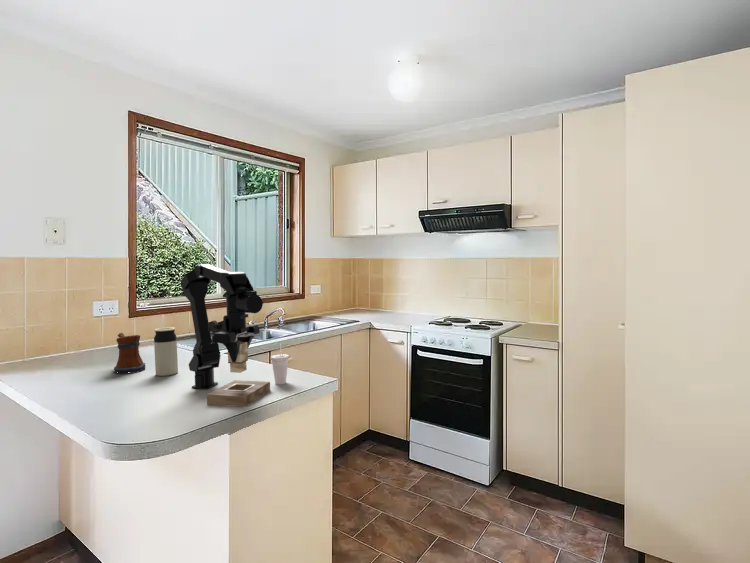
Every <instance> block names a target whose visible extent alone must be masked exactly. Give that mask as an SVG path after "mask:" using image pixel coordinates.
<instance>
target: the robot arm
mask: <svg viewBox="0 0 750 563" xmlns="http://www.w3.org/2000/svg"><path fill="white" fill-rule="evenodd" d="M212 281H214V282H216V283H218V284H219V287H220V288H222V289H223V290H224V291H225V292H224V293H223V295H222V298H225V301H226V315H223V317H222V318H223V320H221V321H217V320H211V321H209V317H208V312H207V305H206V300H205V299H206V296H207V294H208V291H209V287H208V286H209V285H210V284H211V282H212ZM180 288H181V289H182V293H183V296H184V297H185V298H186V299H187V300H188V301H189V304H190V310H191V311H190V312H191V317H192V322H193V328H194V335H195V341H196V342H195V344H194V347H193V350H192V355H193V356H192V357H191V359H190V361H189V363H188V368H189V371H191V372H194V385H193V386H191V389H200V390H201V389H202V390H203V389H204V390H205V389H206V390H208V389H210V388H212V387H215V386H216V385H218V384H219V382H218V381H215V371H214V369H215V368H216V369H217V368H219V367H220V366H219V365H220V362H221V351H220V347H219V344H222V345H223V346H225V348H226V351H227V354H228V353H229V355H230V358H231V360H232V362H236V359H237V355H238V351H239V346H240V342H247V347H248V348H249V347H250V344H251V343H252V341H253V339H254V338H255V335H258V334H260V327H259V325H257V324H247V318H249V314H258V313H259V312H260V311H261V310H262V308H263V306H264V304H263V299H262V297H261V296H260V295H258V293H257V291H256V290H254V287H253V285H252V284H251V281H250V280H249V277H248V276H247V274H246V273H245V272H244V271H228V270H225V269H222V268H219V267H218V266H217V267H216V266H213V265H212V264H210V263H206V264H205V263H203V264H200V263H199V264H197V265H195V267H194V268H193V269H192V270H190V271H188V272H187V273H185V274H184V276H183V277H182V279H181V280H180ZM211 333H212V335H211ZM251 334H253V335H251Z"/></svg>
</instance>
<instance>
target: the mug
mask: <svg viewBox="0 0 750 563" xmlns="http://www.w3.org/2000/svg"><path fill="white" fill-rule="evenodd" d="M140 339H141V335H139V334H134V335H126V336H125V334H124V333H123V332H120V333H118V335H117V338H116V339H115V340H116V343H117V348H118V358H117V361H116V365H115V366H114V367H113V371H114V373H116V372H118V373H128V372H135V373H138V372H137V371H139V372H142V371H144V370H146V363H145V362H144V361H143V359H142V357H141V354H140V351H139V348H140V345H141V343H140ZM141 370H142V371H141ZM118 373H117V374H118ZM128 374H129V373H128Z"/></svg>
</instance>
